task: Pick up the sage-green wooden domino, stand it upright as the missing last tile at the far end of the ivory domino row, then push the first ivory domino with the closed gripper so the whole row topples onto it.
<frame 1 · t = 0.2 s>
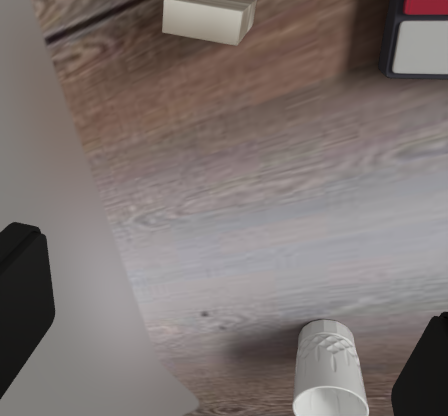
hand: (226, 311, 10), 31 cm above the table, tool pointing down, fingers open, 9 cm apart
domino 4: (225, 7, 35), on the table
white cup: (325, 336, 53), on the table
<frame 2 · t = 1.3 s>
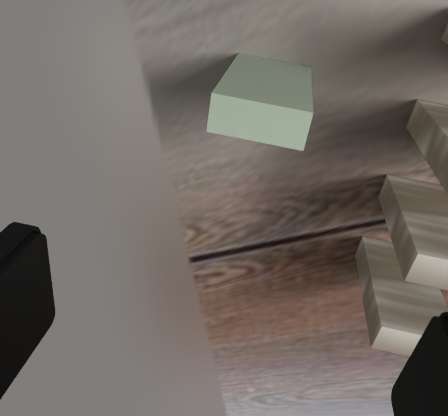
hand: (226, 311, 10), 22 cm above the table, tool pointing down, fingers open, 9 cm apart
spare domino: (271, 74, 29), on the table
domino 3: (415, 192, 32), on the table
domino 4: (388, 251, 35), on the table
domino 2: (447, 120, 29), on the table
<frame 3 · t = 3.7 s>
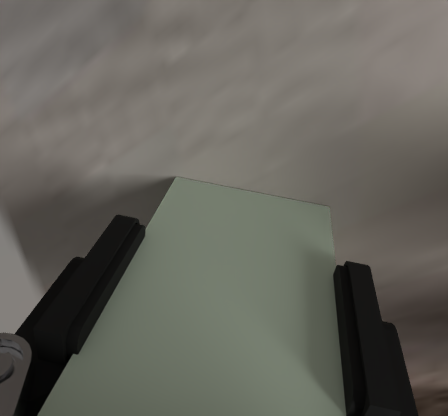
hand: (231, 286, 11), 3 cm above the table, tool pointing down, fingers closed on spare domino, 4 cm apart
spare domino: (246, 217, 14), on the table, touching gripper
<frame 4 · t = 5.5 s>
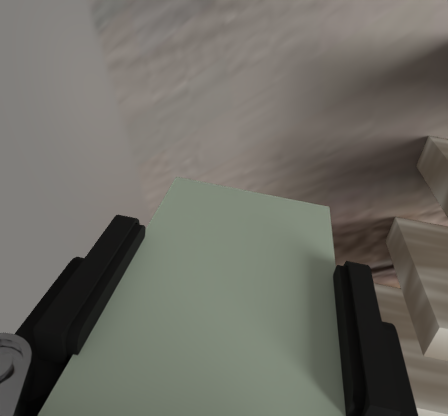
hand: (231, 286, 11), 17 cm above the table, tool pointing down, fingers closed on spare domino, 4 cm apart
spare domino: (246, 217, 14), point 13 cm above the table, touching gripper
domino 3: (427, 236, 28), on the table
domino 4: (397, 298, 31), on the table
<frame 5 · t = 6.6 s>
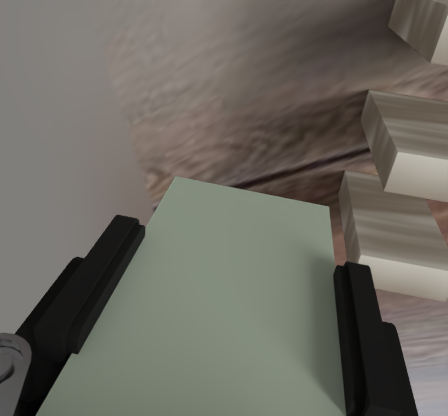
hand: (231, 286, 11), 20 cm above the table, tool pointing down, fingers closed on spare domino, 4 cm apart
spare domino: (246, 217, 14), point 16 cm above the table, touching gripper
domino 3: (403, 110, 27), on the table
domino 4: (376, 187, 30), on the table
domino 2: (436, 13, 24), on the table
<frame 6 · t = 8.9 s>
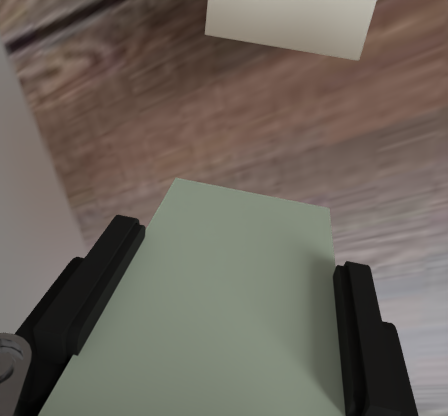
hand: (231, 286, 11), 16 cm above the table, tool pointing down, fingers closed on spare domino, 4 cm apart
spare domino: (246, 218, 14), point 13 cm above the table, touching gripper
when the fingers open (4 cm above the table, at t = 11.8 s): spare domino stays where it is, on the table.
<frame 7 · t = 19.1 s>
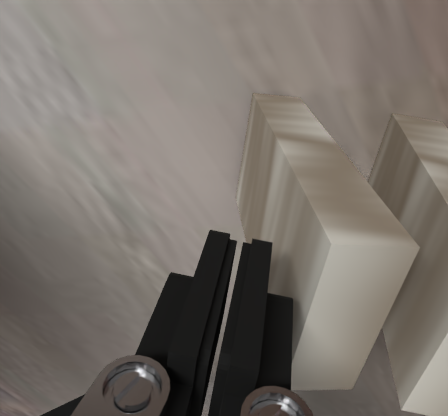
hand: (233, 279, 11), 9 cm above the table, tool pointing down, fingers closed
domino 1: (265, 150, 18), on the table, tilted 15°
domino 2: (395, 171, 18), on the table
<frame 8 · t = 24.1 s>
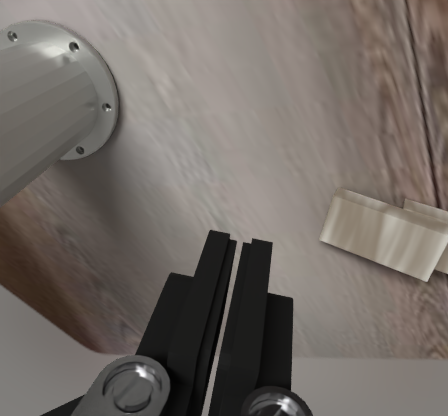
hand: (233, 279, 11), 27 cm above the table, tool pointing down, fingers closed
domino 1: (328, 213, 39), point 1 cm above the table, tilted 72°, touching domino 2
domino 2: (394, 225, 39), point 1 cm above the table, tilted 74°, touching domino 1, domino 3
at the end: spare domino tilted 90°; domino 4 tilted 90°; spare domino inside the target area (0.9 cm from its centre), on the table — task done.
